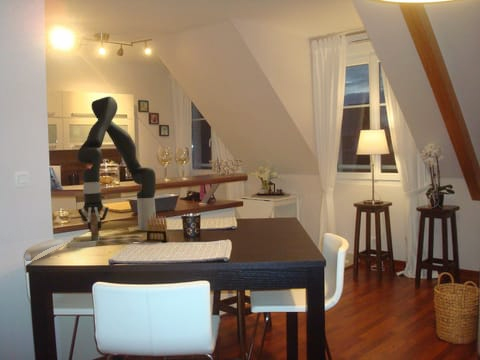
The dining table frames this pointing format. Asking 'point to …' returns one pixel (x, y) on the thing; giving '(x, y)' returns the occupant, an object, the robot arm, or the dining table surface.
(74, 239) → the chip
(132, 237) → the slot channel
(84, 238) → the chip
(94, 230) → the rake tool
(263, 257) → the dining table surface
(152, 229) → the ammunition clip
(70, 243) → the tray
